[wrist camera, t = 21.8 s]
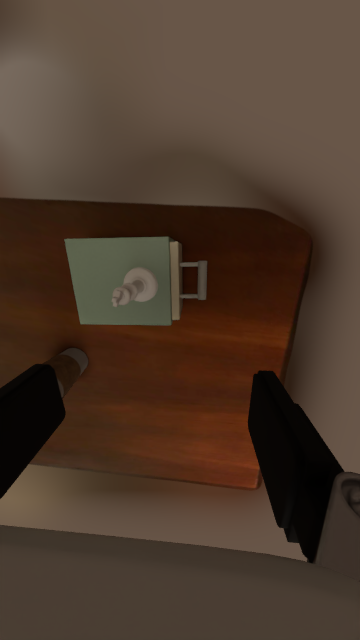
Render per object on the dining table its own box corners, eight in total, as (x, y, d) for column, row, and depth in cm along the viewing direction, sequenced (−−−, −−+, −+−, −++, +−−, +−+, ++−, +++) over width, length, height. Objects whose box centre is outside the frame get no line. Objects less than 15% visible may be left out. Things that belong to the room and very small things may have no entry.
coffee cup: (94, 346, 44) (45, 392, 29) (92, 378, 46) (47, 433, 32) (57, 338, 44) (-9, 380, 30) (58, 370, 46) (-3, 422, 32)
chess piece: (162, 274, 28) (145, 285, 18) (152, 305, 29) (131, 331, 20) (129, 261, 28) (94, 266, 18) (120, 294, 29) (85, 314, 20)
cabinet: (175, 240, 35) (168, 236, 26) (176, 308, 39) (171, 325, 30) (96, 242, 36) (63, 238, 27) (106, 308, 40) (80, 324, 31)
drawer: (206, 243, 34) (208, 241, 27) (204, 307, 38) (206, 320, 30) (107, 245, 36) (84, 243, 28) (114, 306, 39) (96, 319, 32)
